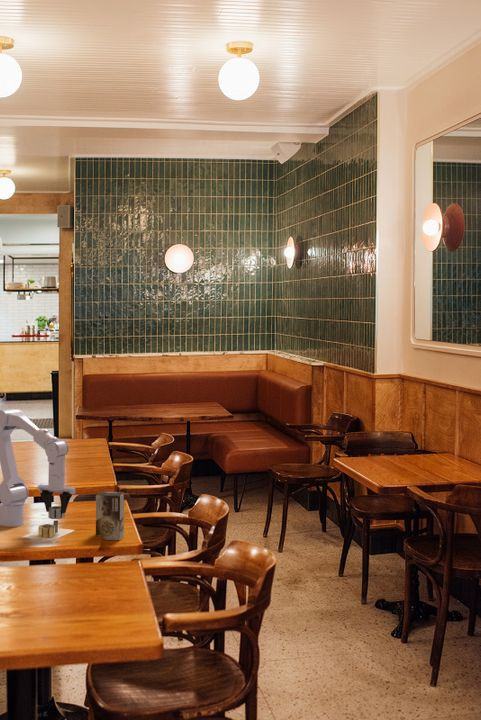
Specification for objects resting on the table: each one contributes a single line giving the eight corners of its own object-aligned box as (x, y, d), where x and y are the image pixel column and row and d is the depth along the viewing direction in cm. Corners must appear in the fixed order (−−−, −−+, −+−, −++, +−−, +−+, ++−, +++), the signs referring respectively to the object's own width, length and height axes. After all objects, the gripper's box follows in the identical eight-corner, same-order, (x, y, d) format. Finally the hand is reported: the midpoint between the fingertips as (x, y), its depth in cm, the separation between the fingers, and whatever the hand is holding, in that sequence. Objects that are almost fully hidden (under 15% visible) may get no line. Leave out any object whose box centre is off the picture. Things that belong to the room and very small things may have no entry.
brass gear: (37, 537, 286) (37, 528, 286) (40, 533, 292) (40, 524, 292) (53, 537, 286) (53, 528, 286) (56, 533, 292) (56, 524, 292)
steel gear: (45, 518, 293) (45, 508, 293) (54, 514, 298) (53, 505, 298) (59, 519, 291) (59, 510, 291) (67, 516, 296) (67, 506, 296)
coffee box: (124, 536, 296) (125, 491, 295) (119, 540, 290) (120, 495, 289) (99, 534, 297) (100, 490, 296) (94, 539, 290) (95, 494, 290)
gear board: (21, 540, 287) (21, 525, 286) (46, 530, 302) (46, 516, 302) (51, 544, 283) (51, 529, 283) (75, 533, 298) (75, 519, 298)
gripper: (80, 474, 295) (79, 511, 296) (45, 471, 300) (44, 507, 300) (69, 477, 289) (69, 515, 289) (34, 474, 293) (33, 511, 294)
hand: (56, 512), depth 294 cm, fingers closed on steel gear, 5 cm apart
